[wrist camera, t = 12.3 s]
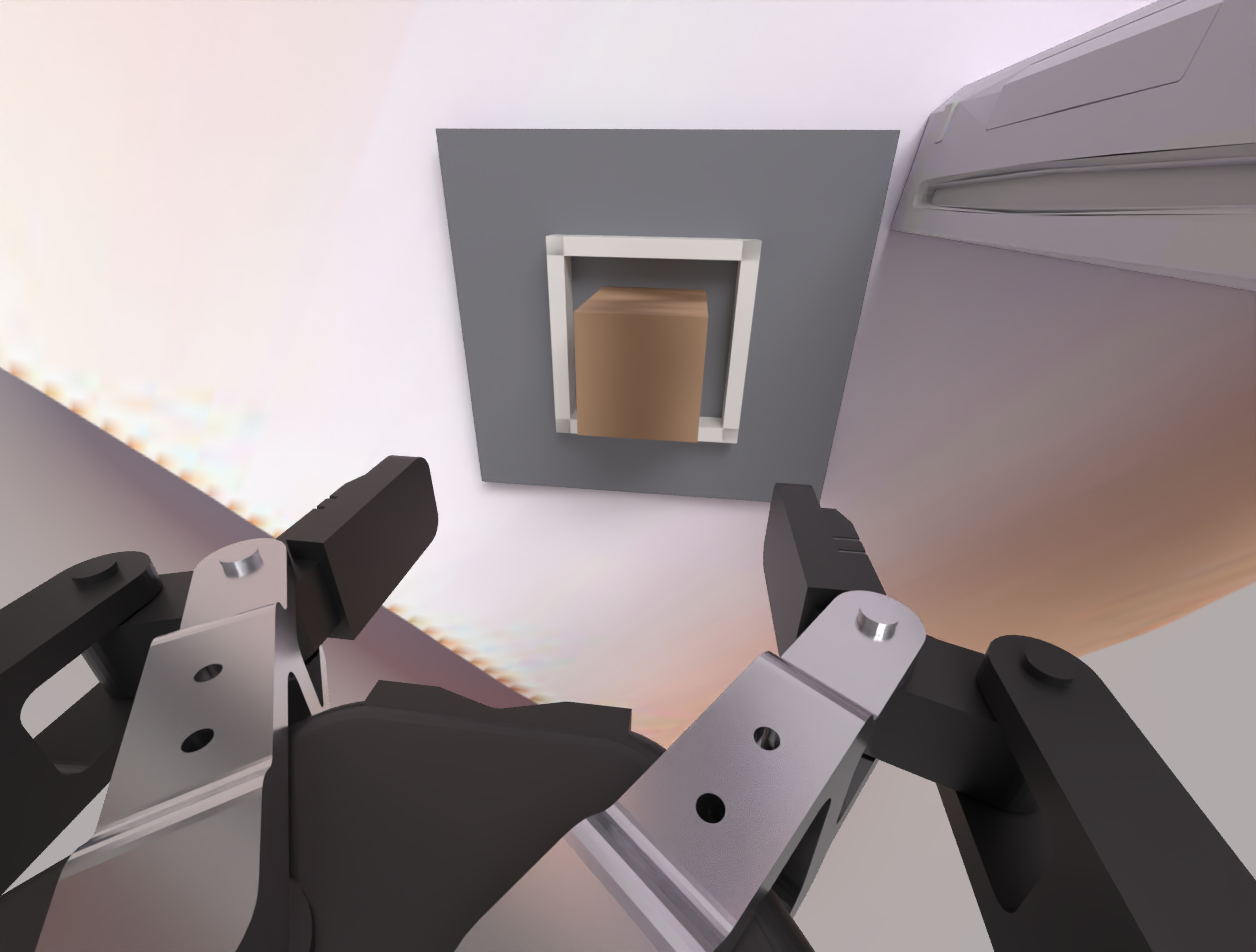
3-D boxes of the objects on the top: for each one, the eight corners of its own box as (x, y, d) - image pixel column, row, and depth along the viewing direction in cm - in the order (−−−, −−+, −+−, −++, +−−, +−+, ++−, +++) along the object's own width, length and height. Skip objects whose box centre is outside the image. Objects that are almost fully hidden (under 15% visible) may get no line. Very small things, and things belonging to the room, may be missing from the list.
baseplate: (890, 133, 22) (913, 125, 20) (814, 495, 31) (824, 519, 28) (447, 131, 24) (419, 124, 22) (488, 472, 33) (472, 493, 30)
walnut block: (705, 289, 25) (708, 317, 19) (697, 389, 27) (697, 442, 21) (603, 286, 26) (573, 311, 19) (604, 384, 28) (577, 434, 22)
